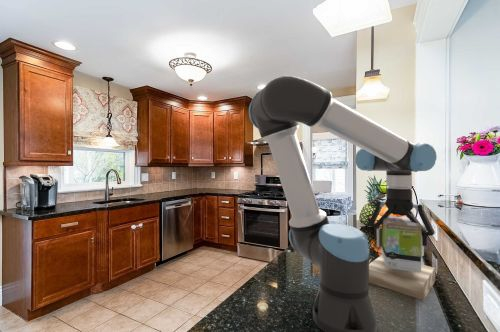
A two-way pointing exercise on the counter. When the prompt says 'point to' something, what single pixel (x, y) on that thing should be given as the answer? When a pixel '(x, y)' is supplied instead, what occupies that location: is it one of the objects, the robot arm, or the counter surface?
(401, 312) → the counter surface
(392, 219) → the tea box
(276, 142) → the robot arm
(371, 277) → the birch base block
